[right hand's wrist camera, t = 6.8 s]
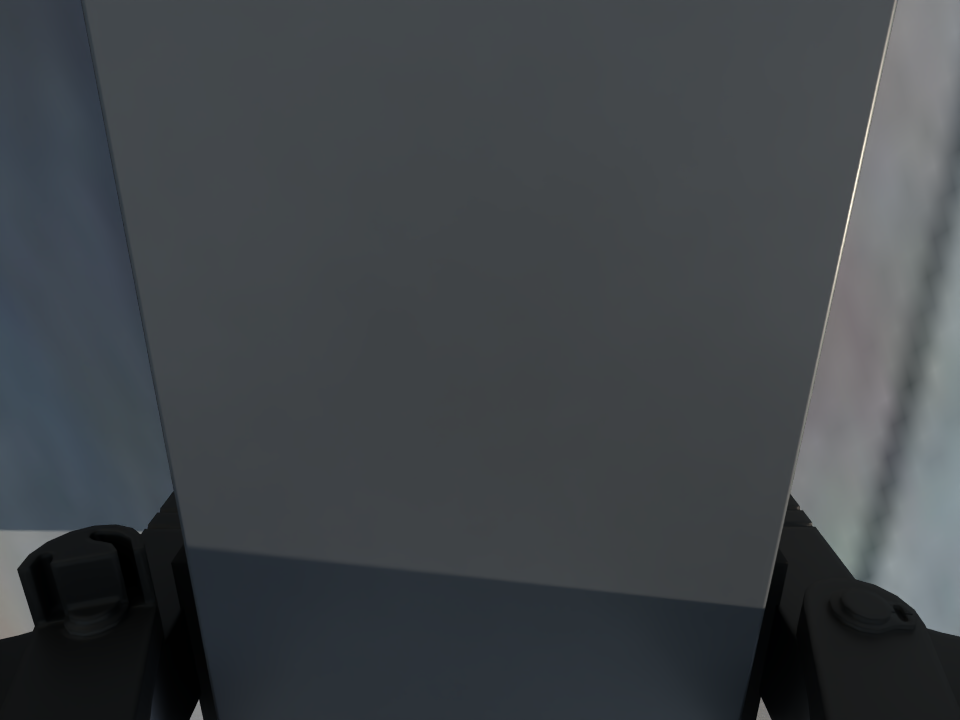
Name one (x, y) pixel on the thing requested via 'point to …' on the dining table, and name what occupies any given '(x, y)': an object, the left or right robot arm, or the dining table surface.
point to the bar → (484, 333)
